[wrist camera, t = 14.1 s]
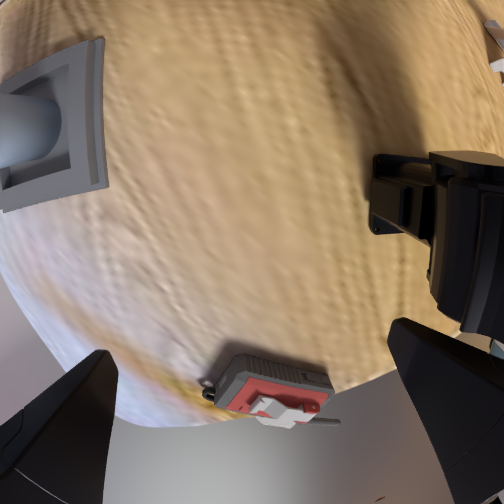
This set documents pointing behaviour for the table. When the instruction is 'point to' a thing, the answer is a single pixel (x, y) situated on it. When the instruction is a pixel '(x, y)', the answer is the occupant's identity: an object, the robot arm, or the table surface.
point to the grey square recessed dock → (62, 128)
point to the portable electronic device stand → (500, 35)
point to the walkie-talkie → (272, 392)
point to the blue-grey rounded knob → (27, 128)
